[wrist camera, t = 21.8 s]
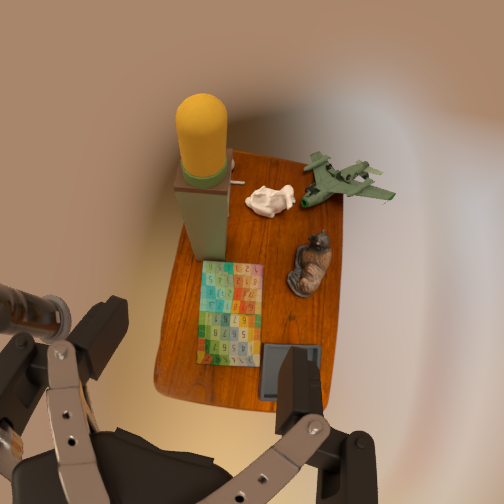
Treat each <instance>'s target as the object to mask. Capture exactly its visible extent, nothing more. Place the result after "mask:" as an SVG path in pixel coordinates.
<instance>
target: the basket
mask: <svg viewBox="0 0 504 504" xmlns="http://www.w3.org/2000/svg"><path fill="white" fill-rule="evenodd" d="M291 346H295V347H300V348H305V349H307V353H308V360H310V361H315V363H316V365H317V366H318V368H319V370H320V360H321V345H298V344H271V343H262V345H261V359H260V373H259V387H258V398H259V399H260V401H277V390H278V375H279V370H280V367H281V365H282V363H283V361H284V358H285V356H286V354H287V352H288V350H289V348H290V347H291Z"/></svg>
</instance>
